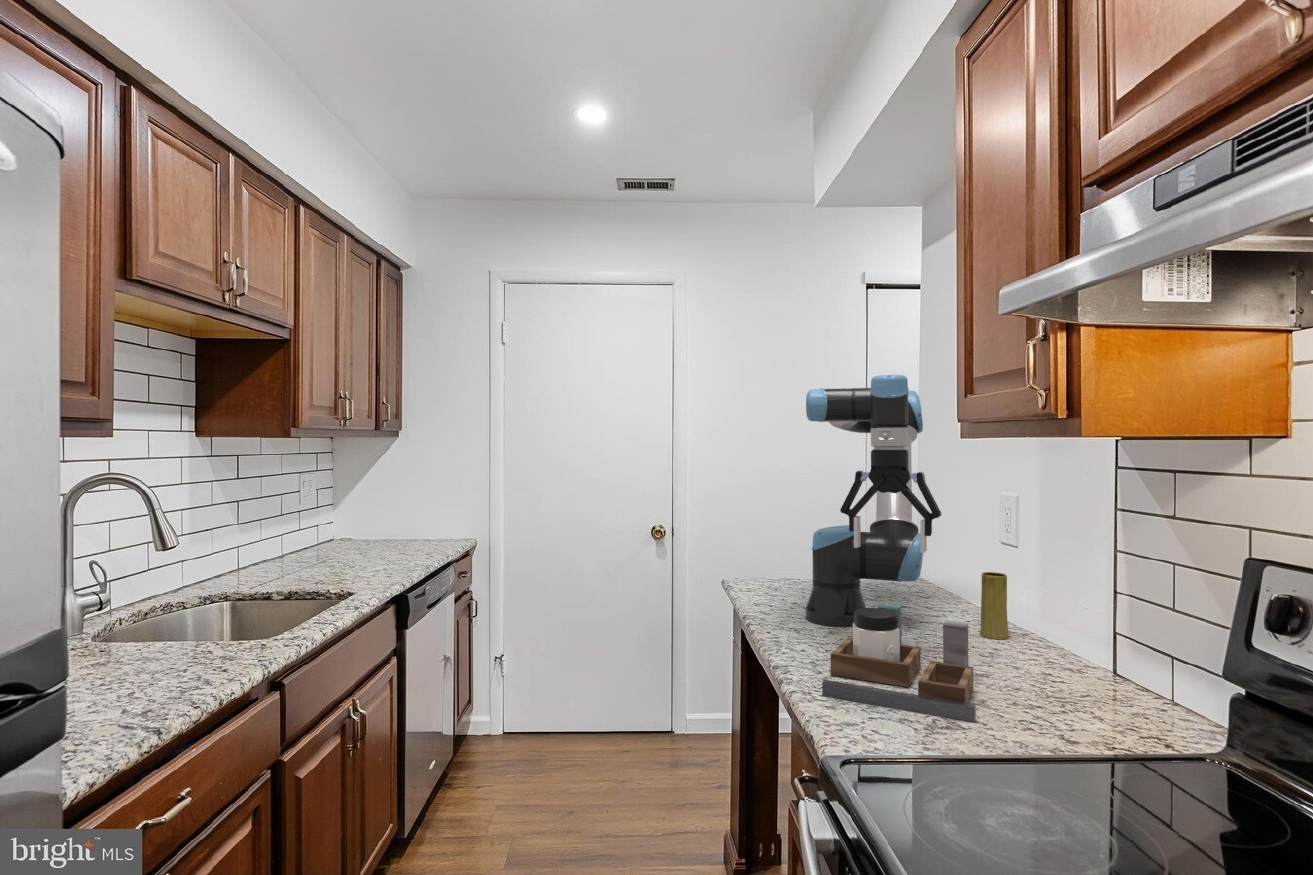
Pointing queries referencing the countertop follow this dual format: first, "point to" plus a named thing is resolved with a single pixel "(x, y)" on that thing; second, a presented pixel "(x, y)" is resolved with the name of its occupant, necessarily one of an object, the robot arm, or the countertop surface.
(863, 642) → the jar
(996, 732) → the countertop surface
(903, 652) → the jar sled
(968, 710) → the end bar
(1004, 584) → the vase
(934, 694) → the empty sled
